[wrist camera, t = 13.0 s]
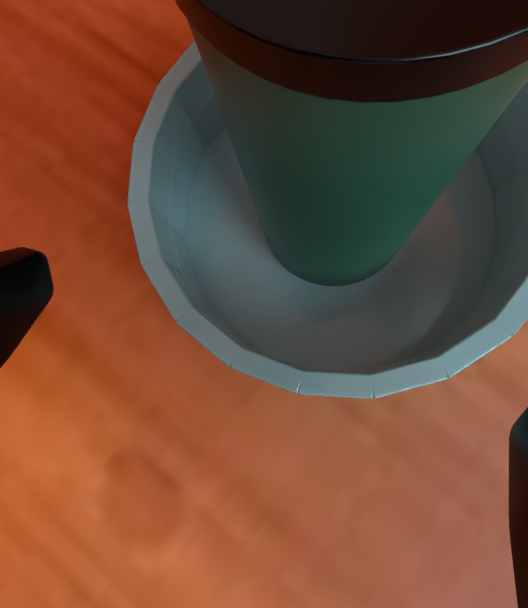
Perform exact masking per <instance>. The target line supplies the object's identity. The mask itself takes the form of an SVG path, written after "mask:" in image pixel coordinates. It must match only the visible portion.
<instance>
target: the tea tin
mask: <svg viewBox="0 0 528 608" xmlns="http://www.w3.org/2000/svg"><path fill="white" fill-rule="evenodd" d="M175 1H176V3H177V5H178V7H179V8H180V10H181V11H182V12H183V14H184V15H185V16H186V17H187V20H188V23H189V25H190V28H191V31H192V34H193V37H194V39H195V42H196V45H197V48H198V50H199V53H200V56H201V59H202V62H203V64H204V67H205V70H206V73H207V76H208V78H209V81H210V84H211V87H212V89H213V92H214V95H215V98H216V101H217V103H218V106H219V109H220V112H221V114H222V117H223V120H224V123H225V126H226V128H227V131H228V134H229V137H230V140H231V142H232V145H233V148H234V151H235V153H236V156H237V159H238V162H239V165H240V167H241V170H242V173H243V176H244V179H245V181H246V184H247V187H248V190H249V192H250V195H251V198H252V201H253V204H254V206H255V209H256V212H257V215H258V217H259V220H260V223H261V226H262V229H263V231H264V234H265V237H266V240H267V242H268V245H269V247H270V249H271V251H272V253H273V254H274V256H275V257H276V259H277V260H278V261H279V262H280V263H281V264H282V265H283V266H284V267H285V268H286V269H287V270H288V271H290V272H291V273H292V274H294V275H295V276H297V277H299V278H301V279H303V280H305V281H307V282H311V283H314V284H317V285H323V286H345V285H350V284H354V283H357V282H360V281H363V280H365V279H367V278H369V277H371V276H373V275H374V274H376V273H377V272H379V271H380V270H381V269H383V268H384V267H385V266H386V265H387V264H388V263H389V262H390V261H391V259H392V258H393V257H394V256H395V254H396V253H397V252H398V251H399V249H400V248H401V247H402V245H403V244H404V243H405V241H406V240H407V239H408V237H409V236H410V235H411V233H412V232H413V231H414V229H415V228H416V227H417V225H418V224H419V223H420V221H421V220H422V219H423V217H424V216H425V215H426V214H427V212H428V211H429V210H430V208H431V207H432V206H433V204H434V203H435V202H436V200H437V199H438V198H439V196H440V195H441V194H442V192H443V191H444V190H445V188H446V187H447V186H448V184H449V183H450V182H451V181H452V179H453V178H454V177H455V175H456V174H457V173H458V171H459V170H460V169H461V167H462V166H463V165H464V163H465V162H466V161H467V159H468V158H469V157H470V155H471V154H472V153H473V151H474V150H475V149H476V148H477V146H478V145H479V144H480V142H481V141H482V140H483V138H484V137H485V136H486V134H487V133H488V132H489V130H490V129H491V128H492V126H493V125H494V124H495V122H496V121H497V120H498V118H499V117H500V116H501V115H502V113H503V112H504V111H505V109H506V108H507V107H508V105H509V104H510V103H511V101H512V100H513V99H514V97H515V96H516V95H517V93H518V92H519V91H520V89H521V88H522V87H523V85H524V84H525V83H526V82H527V80H528V0H175Z"/></svg>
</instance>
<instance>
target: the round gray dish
mask: <svg viewBox="0 0 528 608" xmlns="http://www.w3.org/2000/svg"><path fill="white" fill-rule="evenodd" d="M127 202H128V204H127V206H128V211H129V215H130V219H131V224H132V228H133V233H134V237H135V242H136V246H137V251H138V255H139V259H140V264H141V266H142V267H143V270H144V271H145V273H146V275H147V276H148V278H149V280H150V281H151V283H152V285H153V286H154V288H155V289H156V291H157V293H158V294H159V296H160V298H161V299H162V301H163V303H164V304H165V306H166V307H167V309H168V311H169V312H170V314H171V316H172V317H173V319H174V321H176V322H177V324H178V325H179V326H180V327H181V328H182V329H184V330H185V331H186V332H187V333H188V334H190V335H191V336H192V337H193V338H194V339H195V340H197V341H198V342H199V343H200V344H201V345H203V346H204V347H205V348H206V349H207V350H209V351H210V352H211V353H212V354H213V355H215V356H216V357H217V358H218V359H219V360H221V361H222V362H223V363H224V364H225V365H227V366H228V367H231V368H232V369H234V370H236V371H239V372H241V373H244V374H247V375H249V376H252V377H254V378H257V379H259V380H262V381H264V382H267V383H269V384H272V385H274V386H277V387H279V388H282V389H285V390H287V391H290V392H292V393H298V394H300V395H312V396H329V397H346V398H363V399H372V398H380V397H384V396H387V395H391V394H395V393H399V392H403V391H406V390H410V389H414V388H418V387H421V386H425V385H429V384H433V383H437V382H440V381H444V380H446V379H448V378H451V377H453V376H454V375H456V374H457V373H459V372H460V371H462V370H464V369H465V368H467V367H468V366H470V365H471V364H473V363H474V362H476V361H477V360H479V359H480V358H482V357H483V356H485V355H486V354H488V353H489V352H491V351H492V350H494V349H495V348H497V347H499V346H500V345H502V344H503V343H505V342H506V341H508V340H509V339H511V337H512V336H514V335H515V334H516V333H517V332H518V330H519V329H520V328H521V326H522V325H523V324H524V322H525V321H526V320H527V319H528V80H527V82H526V83H525V84H524V85H523V87H522V88H521V89H520V91H519V92H518V93H517V95H516V96H515V97H514V99H513V100H512V101H511V103H510V104H509V105H508V107H507V108H506V109H505V111H504V112H503V113H502V115H501V116H500V117H499V118H498V120H497V121H496V122H495V124H494V125H493V126H492V128H491V129H490V130H489V132H488V133H487V134H486V136H485V137H484V138H483V140H482V141H481V142H480V144H479V145H478V146H477V148H476V149H475V150H474V151H473V153H472V154H471V155H470V157H469V158H468V159H467V161H466V162H465V163H464V165H463V166H462V167H461V169H460V170H459V171H458V173H457V174H456V175H455V177H454V178H453V179H452V181H451V182H450V183H449V184H448V186H447V187H446V188H445V190H444V191H443V192H442V194H441V195H440V196H439V198H438V199H437V200H436V202H435V203H434V204H433V206H432V207H431V208H430V210H429V211H428V212H427V214H426V215H425V216H424V217H423V219H422V220H421V221H420V223H419V224H418V225H417V227H416V228H415V229H414V231H413V232H412V233H411V235H410V236H409V237H408V239H407V240H406V241H405V243H404V244H403V245H402V247H401V248H400V249H399V251H398V252H397V253H396V254H395V256H394V257H393V258H392V259H391V261H390V262H389V263H388V264H387V265H386V266H385V267H384V268H383V269H381V270H380V271H379V272H377V273H376V274H374V275H373V276H371V277H369V278H367V279H365V280H363V281H360V282H357V283H354V284H350V285H345V286H323V285H317V284H314V283H311V282H307V281H305V280H303V279H301V278H299V277H297V276H295V275H294V274H292V273H291V272H290V271H288V270H287V269H286V268H285V267H284V266H283V265H282V264H281V263H280V262H279V261H278V260H277V259H276V257H275V256H274V254H273V253H272V251H271V249H270V247H269V245H268V242H267V240H266V237H265V234H264V231H263V229H262V226H261V223H260V220H259V217H258V215H257V212H256V209H255V206H254V204H253V201H252V198H251V195H250V192H249V190H248V187H247V184H246V181H245V179H244V176H243V173H242V170H241V167H240V165H239V162H238V159H237V156H236V153H235V151H234V148H233V145H232V142H231V140H230V137H229V134H228V131H227V128H226V126H225V123H224V120H223V117H222V114H221V112H220V109H219V106H218V103H217V101H216V98H215V95H214V92H213V89H212V87H211V84H210V81H209V78H208V76H207V73H206V70H205V67H204V64H203V62H202V59H201V56H200V53H199V50H198V48H197V45H196V42H195V40H194V41H193V42H192V43H191V45H190V46H189V47H188V48H187V49H186V51H185V52H184V53H183V54H182V55H181V57H180V58H179V59H178V60H177V61H176V63H175V64H174V65H173V66H172V67H171V69H170V70H169V71H168V72H167V73H166V75H165V76H164V77H163V78H162V79H161V81H160V82H159V84H158V85H157V87H156V89H155V92H154V94H153V96H152V99H151V101H150V103H149V106H148V108H147V110H146V113H145V115H144V117H143V120H142V122H141V124H140V127H139V129H138V131H137V134H136V136H135V138H134V142H133V149H132V159H131V169H130V179H129V189H128V199H127Z"/></svg>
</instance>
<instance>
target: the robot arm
mask: <svg viewBox="0 0 528 608" xmlns="http://www.w3.org/2000/svg"><path fill="white" fill-rule="evenodd" d="M53 289H54V287H53V282H52V278H51V273H50V269H49V264H48V260H47V257H46V256H45V255H44V254H43V253H42V252H40V251H36V250H33V249H29V248H25V247H20V248H15V249H11V250H6V251H2V252H0V368H1V367H2V366H3V365H4V363H5V362H6V361H7V360H8V358H9V357H10V356H11V354H12V353H13V352H14V350H15V349H16V348H17V346H18V345H19V343H20V342H21V340H22V339H23V338H24V336H25V335H26V333H27V332H28V331H29V329H30V328H31V326H32V325H33V323H34V322H35V321H36V319H37V318H38V316H39V315H40V314H41V312H42V311H43V309H44V308H45V306H46V305H47V304H48V302H49V301H50V299H51V297H52V295H53ZM509 530H510V541H511V550H512V559H513V568H514V577H515V586H516V594H517V603H518V608H528V407H527V408H526V410H525V411H524V412H523V413H522V415H521V416H520V417H519V418H518V419H517V421H516V422H515V423H514V425H513V426H512V429H511V432H510V436H509Z"/></svg>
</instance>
